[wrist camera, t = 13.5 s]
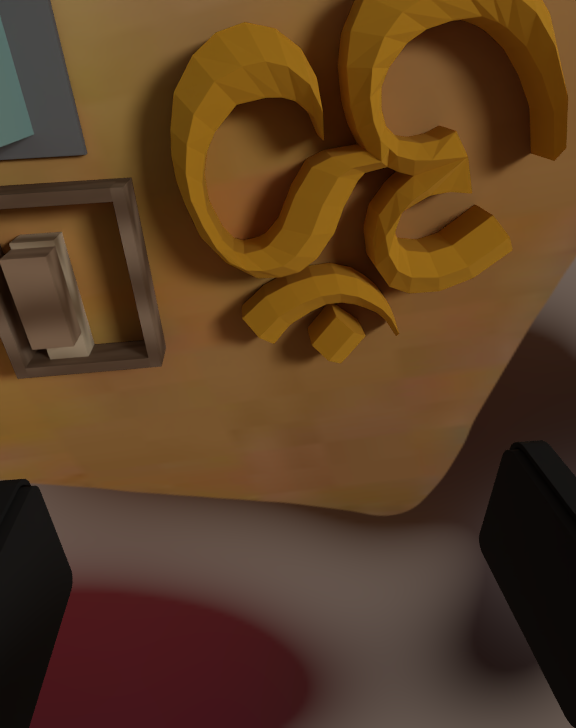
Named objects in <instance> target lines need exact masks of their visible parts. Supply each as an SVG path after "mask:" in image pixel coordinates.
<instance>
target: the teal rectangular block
mask: <svg viewBox="0 0 576 728" xmlns="http://www.w3.org/2000/svg"><path fill="white" fill-rule="evenodd" d="M31 135H34V132H33V129H32V125H31V122H30V118H29V115H28V111H27V108H26V104H25V101H24V97H23V94H22V90H21V87H20V83H19V80H18V76H17V73H16V69H15V66H14V62H13V59H12V55H11V52H10V48H9V45H8V42H7V38H6V35H5V31H4V28H3V24H2V21H1V17H0V147H2V146H5V145H8V144H10V143H13V142H15V141H18V140H21V139H23V138H26V137H28V136H31Z"/></svg>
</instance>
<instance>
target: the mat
mask: <svg viewBox="0 0 576 728" xmlns="http://www.w3.org/2000/svg"><path fill="white" fill-rule="evenodd" d="M0 17H1V21H2V24H3V28H4V31H5V35H6V38H7V42H8V45H9V48H10V52H11V55H12V59H13V62H14V66H15V69H16V73H17V76H18V80H19V83H20V87H21V90H22V94H23V97H24V101H25V104H26V108H27V111H28V115H29V118H30V122H31V125H32V129H33V132H34V135H31V136H28V137H26V138H23V139H21V140H18V141H15V142H13V143H10V144H8V145H5V146H2V147H0V160H7V159H24V158H40V157H57V156H73V155H86V154H87V150H86V146H85V142H84V138H83V134H82V129H81V125H80V121H79V117H78V113H77V109H76V105H75V101H74V97H73V92H72V88H71V84H70V80H69V76H68V72H67V68H66V64H65V60H64V55H63V51H62V47H61V43H60V39H59V35H58V31H57V27H56V23H55V18H54V14H53V10H52V6H51V2H50V0H0Z"/></svg>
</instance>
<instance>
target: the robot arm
mask: <svg viewBox="0 0 576 728" xmlns="http://www.w3.org/2000/svg"><path fill="white" fill-rule="evenodd" d="M479 543H480V548H481V551H482V553H483V555H484V557H485V559H486V561H487V563H488V565H489V567H490V569H491V571H492V573H493V575H494V577H495V579H496V581H497V583H498V585H499V587H500V589H501V591H502V593H503V595H504V597H505V599H506V601H507V603H508V605H509V607H510V609H511V611H512V612H513V615H514V617H515V619H516V620H517V622H518V624H519V626H520V628H521V630H522V632H523V634H524V636H525V638H526V640H527V642H528V644H529V646H530V648H531V650H532V652H533V654H534V656H535V658H536V660H537V662H538V664H539V666H540V668H541V670H542V672H543V674H544V676H545V678H546V680H547V682H548V684H549V685H550V688H551V689H552V692H553V694H554V696H555V698H556V699H557V701H558V703H559V705H560V707H561V709H562V711H563V713H564V715H565V717H566V718H567V720H568V721H569V723H570V724H571V725H572V726H573V727H574V728H576V477H575V475H574V474H573V473H572V472H571V471H570V469H569V468H568V467H567V466H566V465H565V464H564V462H563V461H562V460H561V458H560V457H559V456H558V455H557V454H556V452H555V451H554V450H553V449H552V448H551V446H550V445H549V444H548V443H547V442H545V441H542V440H540V441H527V442H515V443H513V444H512V445H511V447H510V450H506V451H505V452H504V453H503V456H502V459H501V462H500V466H499V469H498V473H497V476H496V480H495V483H494V486H493V490H492V493H491V497H490V500H489V504H488V507H487V510H486V514H485V517H484V521H483V524H482V528H481V531H480V535H479ZM71 588H72V571H71V569H70V566H69V563H68V561H67V558H66V556H65V553H64V550H63V548H62V545H61V543H60V540H59V538H58V535H57V533H56V530H55V527H54V525H53V522H52V520H51V517H50V515H49V512H48V509H47V507H46V505H45V502H44V499H43V497H42V494H41V492H40V489H39V488H38V487H37V486H31V485H30V483H29V481H28V480H26V479H17V480H3V481H0V728H29V726H30V723H31V719H32V716H33V713H34V709H35V706H36V703H37V700H38V696H39V693H40V690H41V687H42V683H43V680H44V677H45V674H46V670H47V667H48V664H49V660H50V657H51V654H52V651H53V648H54V644H55V641H56V638H57V635H58V631H59V628H60V625H61V622H62V618H63V615H64V612H65V609H66V605H67V602H68V599H69V596H70V592H71Z"/></svg>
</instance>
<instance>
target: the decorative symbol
mask: <svg viewBox="0 0 576 728" xmlns="http://www.w3.org/2000/svg"><path fill="white" fill-rule="evenodd" d="M456 20H463V21H466V22H468V23H471V24H474V25H476V26H478V27H480V28H481V29H483V30H484V31H486V32H487V33H488V34H489V35H490V36H491V37H492V38H493V39H494V40H495V41H496V42H497V43H498V44H499V45H500V46H501V47H502V48H503V49H504V51H505V53H506V54H507V56H508V58H509V60H510V61H511V63H512V65H513V67H514V68H515V70H516V72H517V74H518V76H519V79H520V82H521V85H522V88H523V90H524V93H525V96H526V99H527V102H528V105H529V107H530V140H531V153H532V154H535V155H538V156H541V157H544V158H547V159H550V160H553V161H555V160H556V158H557V157H558V156H559V155H560V154H561V153H562V152H563V151H564V150H565V149H566V139H567V110H568V95H567V90H566V85H565V81H564V76H563V72H562V67H561V62H560V58H559V53H558V49H557V44H556V39H555V35H554V30H553V26H552V21H551V16H550V13H549V11H548V9H547V8H546V6H545V4H544V3H543V1H542V0H355V1H354V2H353V5H352V7H351V10H350V12H349V15H348V17H347V19H346V22H345V24H344V27H343V29H342V32H341V37H340V47H339V57H338V76H339V86H340V96H341V104H342V107H343V111H344V114H345V117H346V121H347V124H348V126H349V129H350V131H351V133H352V135H353V137H354V139H355V141H356V143H357V144H354V145H348V146H342V147H336V148H331V149H325V150H323V151H321V152H319V153H317V154H315V155H313V156H311V157H309V158H307V159H306V160H305V162H304V163H303V165H302V167H301V168H300V170H299V172H298V174H297V175H296V177H295V179H294V180H293V182H292V184H291V186H290V188H289V191H288V194H287V196H286V199H285V202H284V204H283V207H282V209H281V212H280V215H279V217H278V218H277V219H276V221H275V222H274V223H273V225H272V226H271V227H270V228H269V230H268V231H267V232H266V233H264V234H263V235H261V236H259V237H255V238H251V239H247V240H241V239H237V238H234V237H233V236H232V235H231V234H230V233H229V232H228V231H227V230H226V229H225V228H224V227H223V226H222V224H221V222H220V220H219V218H218V216H217V214H216V213H215V211H214V209H213V207H212V205H211V203H210V201H209V198H208V192H207V186H206V180H205V165H206V156H207V150H208V148H209V145H210V143H211V140H212V138H213V135H214V133H215V131H216V130H217V129H218V128H219V126H220V125H221V124H222V122H223V121H224V120H225V119H226V117H227V116H228V115H229V114H230V112H231V111H232V110H233V109H234V107H235V106H236V105H238V104H242V103H246V102H250V101H254V100H258V99H262V98H279V97H283V98H286V99H289V100H293V101H295V102H297V103H298V104H299V105H300V106H301V107H302V108H303V109H305V110H306V111H307V112H308V114H309V117H310V119H311V121H312V124H313V126H314V129H315V131H316V134H317V135H318V136H319V137H320V138H321V139H322V140H323V141H324V129H323V109H322V104H321V99H320V93H319V88H318V82H317V77H316V75H315V73H314V72H313V70H312V68H311V66H310V64H309V62H308V61H307V59H306V57H305V55H304V53H303V51H302V50H301V48H300V47H298V46H297V45H296V44H295V43H293V42H292V41H291V40H289V39H288V38H287V37H286V36H284V35H283V34H282V33H280V32H279V31H278V30H276V29H275V28H271V27H266V26H261V25H256V24H251V23H246V22H244V23H241V24H238V25H235V26H233V27H230V28H227V29H224V30H221V31H219V32H216V33H215V34H214V35H213V36H212V37H211V38H210V39H209V40H208V41H207V42H206V43H205V44H204V45H202V46H201V47H200V48H199V49H198V50H197V51H196V52H195V53H194V54H193V55H192V57H191V59H190V61H189V63H188V65H187V67H186V69H185V71H184V73H183V75H182V77H181V79H180V81H179V83H178V85H177V87H176V89H175V91H174V95H173V106H172V117H171V128H170V135H171V157H172V162H173V167H174V172H175V177H176V182H177V184H178V187H179V190H180V193H181V195H182V198H183V201H184V203H185V206H186V208H187V210H188V212H189V214H190V216H191V218H192V220H193V222H194V225H195V227H196V229H197V231H198V233H199V235H200V237H201V238H202V239H203V240H204V241H205V242H206V243H207V244H208V245H209V246H210V247H211V248H212V249H213V250H214V251H215V252H216V253H217V254H218V255H219V256H220V257H221V258H222V259H223V260H224V261H225V262H226V263H227V264H229V265H231V266H233V267H235V268H237V269H239V270H241V271H243V272H245V273H247V274H249V275H252V276H254V277H256V278H276V277H277V278H276V279H274V280H272V281H270V282H268V283H266V284H265V285H263V286H262V287H261V288H260V289H259V290H258V291H257V292H256V293H255V294H254V295H253V296H252V297H251V298H249V299H248V300H247V301H246V302H245V303H244V304H243V305H242V319H243V320H244V321H245V322H246V323H247V324H248V326H249V327H250V328H251V329H252V330H253V331H254V332H255V334H256V335H257V336H258V337H259V338H261V339H263V340H266V341H268V342H271V343H273V344H274V343H275V342H276V341H277V340H278V339H279V337H280V336H281V335H282V334H283V333H284V331H285V330H286V329H287V328H288V327H289V325H290V324H292V323H294V322H295V321H297V320H298V319H300V318H301V317H303V316H305V315H306V314H308V313H309V312H311V311H313V310H315V309H317V308H319V307H322V306H324V305H326V304H327V305H326V306H325V307H324V309H323V310H322V311H321V312H320V313H319V315H318V316H317V317H316V318H315V319H314V321H313V322H312V323H311V324H310V325H309V327H308V328H307V329H308V333H309V337H310V340H311V344H312V346H313V347H314V348H315V349H316V350H317V351H319V352H320V353H321V354H322V355H323V356H324V357H325V358H326V359H327V360H328V361H331V362H337V363H342V362H343V361H344V360H345V358H346V357H347V356H348V355H349V354H350V353H351V352H352V351H353V349H354V348H355V347H356V346H357V345H358V344H359V343H360V342H361V341H362V339H363V338H364V337H365V334H364V331H363V329H362V327H361V325H360V323H359V321H358V319H356V318H355V317H354V316H352V315H351V314H349V313H348V312H346V311H345V310H343V309H342V308H340V307H339V306H337V305H336V304H334V303H340V302H342V303H349V304H355V305H358V306H361V307H364V308H367V309H369V310H372V311H374V312H376V313H378V314H379V315H380V316H381V317H382V318H383V319H384V320H386V321H387V323H388V324H389V326H390V327H391V329H392V330H393V332H394V334H395V335H396V336H397V335H398V334H399V332H398V328H397V325H396V322H395V318H394V316H393V313H392V311H391V308H390V306H389V304H388V302H387V301H386V299H385V297H384V296H383V294H382V293H381V291H380V290H379V289H378V288H377V286H376V285H375V284H374V283H373V282H372V281H371V280H370V279H369V278H367V277H366V276H365V275H363V274H362V273H360V272H358V271H356V270H355V269H353V268H351V267H348V266H343V265H339V264H334V263H324V264H316V265H309V264H310V263H312V262H313V261H314V260H315V259H317V258H318V256H319V255H320V253H321V252H322V251H323V249H324V248H325V246H326V245H327V243H328V242H329V240H330V239H331V237H332V236H333V234H334V233H335V230H336V227H337V224H338V222H339V219H340V216H341V213H342V211H343V208H344V206H345V204H346V202H347V200H348V198H349V196H350V195H351V193H352V191H353V189H354V187H355V185H356V183H357V181H358V180H359V179H360V178H361V177H362V176H363V175H364V174H365V173H366V172H370V171H374V170H378V169H381V168H385V167H389V168H391V169H393V170H395V171H396V172H395V173H394V174H392V175H391V176H390V177H389V178H388V179H387V180H386V181H385V182H384V183H383V185H382V186H381V187H380V189H379V190H378V192H377V193H376V194H375V196H374V197H373V199H372V200H371V201H370V203H369V204H368V209H367V213H366V218H365V222H364V226H363V229H364V238H365V247H366V254H367V255H368V257H369V258H370V260H371V261H372V262H373V264H374V265H375V267H376V268H377V270H378V271H379V273H380V274H381V275H382V277H383V278H384V280H385V281H386V283H387V284H388V286H389V287H392V288H395V289H398V290H401V291H404V292H407V293H421V292H434V291H441V290H444V289H446V288H449V287H451V286H454V285H456V284H459V283H462V282H464V281H467V280H469V279H472V278H474V277H475V276H477V275H478V274H479V273H481V272H482V271H484V270H485V269H487V268H488V267H489V266H491V265H492V264H494V263H495V262H496V261H498V260H499V259H501V258H502V257H504V256H505V255H506V254H508V253H509V252H511V251H512V245H511V241H510V237H509V236H508V235H507V233H506V232H505V231H504V229H503V228H502V227H501V225H500V224H499V223H498V221H497V220H496V219H495V217H494V216H493V215H492V214H490V213H488V212H487V211H485V210H483V209H482V208H480V207H478V206H477V205H474V206H472V207H471V208H470V209H468V210H467V211H466V212H464V213H463V214H462V215H460V216H459V217H458V218H456V219H455V220H454V221H452V222H451V223H450V224H448V225H447V226H446V227H444V228H443V229H442V230H440V231H439V232H438V233H435V234H432V235H429V236H425V237H422V238H419V239H406V238H397V237H396V234H395V231H396V228H397V225H398V222H399V219H400V217H401V214H402V212H403V211H405V210H406V209H408V208H410V207H411V206H413V205H415V204H416V203H418V202H420V201H422V200H423V199H425V198H427V197H428V196H431V195H436V194H441V193H446V192H460V193H472V188H471V179H470V170H469V162H468V156H467V154H466V152H465V149H464V147H463V145H462V143H461V141H460V139H459V136H458V134H457V132H456V131H454V130H451V129H448V128H445V127H442V126H437V127H435V128H434V129H432V130H430V131H428V132H426V133H424V134H419V135H414V136H409V137H404V136H398V135H394V134H393V133H392V132H391V131H390V130H389V129H388V128H387V127H386V125H385V121H384V117H383V113H382V109H381V88H382V84H383V81H384V79H385V76H386V74H387V71H388V69H389V67H390V66H391V64H392V63H393V62H394V60H395V59H396V57H397V56H398V55H399V53H400V52H401V51H402V49H403V48H404V47H405V45H406V44H407V43H408V42H409V41H411V40H412V39H414V38H415V37H416V36H418V35H419V34H421V33H422V32H423V31H425V30H426V29H428V28H431V27H434V26H437V25H440V24H443V23H446V22H449V21H456ZM308 265H309V266H308Z"/></svg>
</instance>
